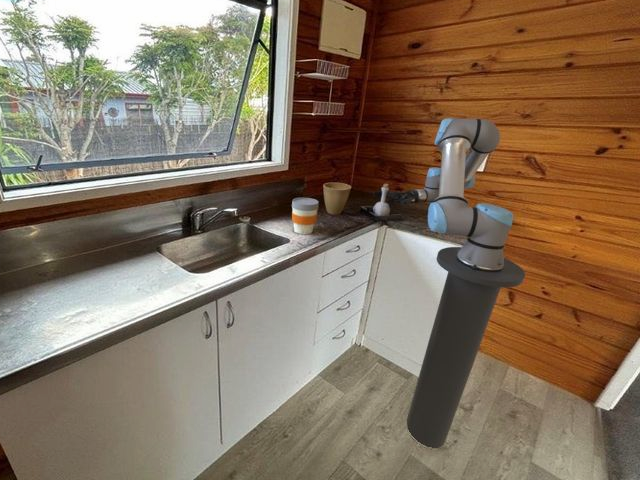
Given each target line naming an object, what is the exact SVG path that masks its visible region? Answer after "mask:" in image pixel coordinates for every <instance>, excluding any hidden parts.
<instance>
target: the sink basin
mask: <svg viewBox="0 0 640 480" xmlns="http://www.w3.org/2000/svg"><path fill="white" fill-rule="evenodd" d="M374 206H375V205H364V206H360V211H359V212H360V213H362V214H364V215H365V216H366V217H368V218H369V219H370V220H373V221H374V222H381V221H382V222H383V221H401V220H402V219H403V214H402V213H399V214H397V213H396V214H388V215H375V213H374V212H373V208H374ZM372 217H373V218H372ZM374 218H375V219H374Z"/></svg>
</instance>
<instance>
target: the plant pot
mask: <svg viewBox="0 0 640 480" xmlns="http://www.w3.org/2000/svg"><path fill="white" fill-rule="evenodd" d="M322 189H323V198H324V205H325V209H326V212H327V214H329V215H334V216H339V215H341V214H342V212H343V210H344V208H345V206H346V204H347V201H348V199H349V196H350V192H351V189H352V186H351V185H349V184H346V183H342V182H326V183H324V184H323V187H322Z"/></svg>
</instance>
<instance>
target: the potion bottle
mask: <svg viewBox="0 0 640 480" xmlns="http://www.w3.org/2000/svg"><path fill="white" fill-rule="evenodd" d="M389 189H390V188H389V183H384V184H383V185H382V187H381V192H382V197H381V198H380V201H378V202H376V203H375V204H374V205H373V206H374V208H373V211H372V213H373V214H375V215H390V213H391V208H390V204H387V202H386V200H387V199H386V198H387V196H386V193H387V191H390V190H389Z"/></svg>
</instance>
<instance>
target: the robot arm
mask: <svg viewBox="0 0 640 480" xmlns="http://www.w3.org/2000/svg"><path fill="white" fill-rule="evenodd" d="M500 142H501V133H500V130H499V128H498V126H497V125H496V124H495V123H494V122H493V121H491V120H488V119H485V118H455V117H451V118H444V119H442V121H441V122H440V125H439V128H438V130H437V133H436V136H435V140H434V145H435V146H436V147H438V150H439V152H440V153H441V160H440V161H441V162H440V163H441V164H440V167H429V169H428V171H427V173H426V174H427V175H426V179H425V182H424V183H425V184H424V187H423V188H420V189H418V188H417V189H408V190H406V191H405V192H402V191H398V190H397V191H396V190H388V191H387V193H386V197H389V198H387V199H386V203H387V204H389V205H394V204H399V205H404V206H405V205H408V204H423V203H426V204H427V203H430V204H429V206H428V210H427V211H428V212H427V225H428V228H429V230H431V231H432V232H435V233H439V234H442V235H443V234H445V235H452V236H459V237H467V239H466V241H465V243H464V244H463V245H462V246H461V247H462V248H461V249H457V251H459V252H458V253H457V257H456V258H457V260H458V261H459V262H460V263H462V264H464V265H466V266H468V267H470V268H472V269H473V270H475V269H477V270H481V271H486V272H499V271H501V270H502V269H503V266H504V258H505V257H504V247H505V244H506V241H507V239H508V236H509V233H510V231H511V228H512V226H513V221H514V213H512V211H510V210H509V209H506V208H504V207H502V206H498V205H495V204H491V203H484V202H483V203H481V202H480V203H477V204H476V206H469V201H468V199H467V198H465V197H464V195H465V189H472V188H473V187H474V185H475V181H476V177H475V174H476V173H477V171H478V170H479V169H480V167H481V166H482V164H483V163H484V161H485V160H486V159H487V157H488V156H489V154H491V153H493V152H494V151H496V149H497V148H498V146H499V143H500ZM467 151H468V152H467ZM372 197H373V198H379V197H382V191H373V195H372Z"/></svg>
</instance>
